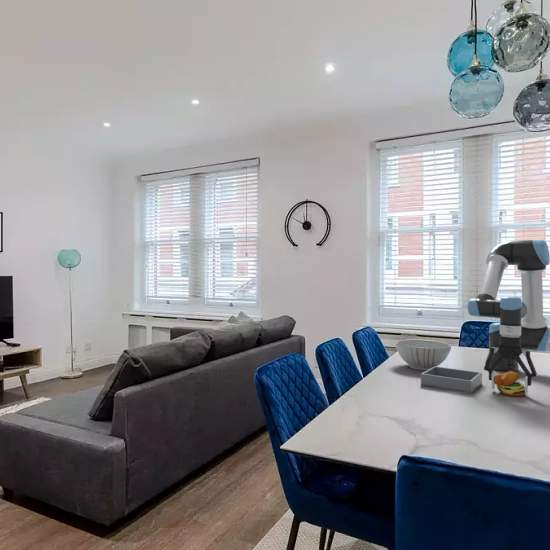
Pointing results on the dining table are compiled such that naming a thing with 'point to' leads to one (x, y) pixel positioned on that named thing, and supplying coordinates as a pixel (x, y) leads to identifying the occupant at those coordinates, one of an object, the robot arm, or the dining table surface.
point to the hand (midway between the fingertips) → (509, 391)
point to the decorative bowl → (423, 353)
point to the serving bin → (451, 379)
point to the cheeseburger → (509, 384)
